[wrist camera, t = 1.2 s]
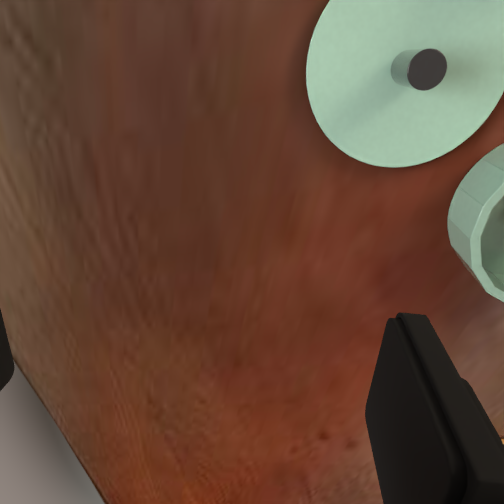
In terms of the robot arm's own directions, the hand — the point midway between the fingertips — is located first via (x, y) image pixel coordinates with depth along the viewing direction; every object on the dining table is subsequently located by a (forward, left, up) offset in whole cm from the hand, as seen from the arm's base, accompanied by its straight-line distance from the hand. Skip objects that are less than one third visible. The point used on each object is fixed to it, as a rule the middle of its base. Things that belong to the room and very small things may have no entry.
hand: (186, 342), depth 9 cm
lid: (-10, +7, -28) cm, 31 cm away
